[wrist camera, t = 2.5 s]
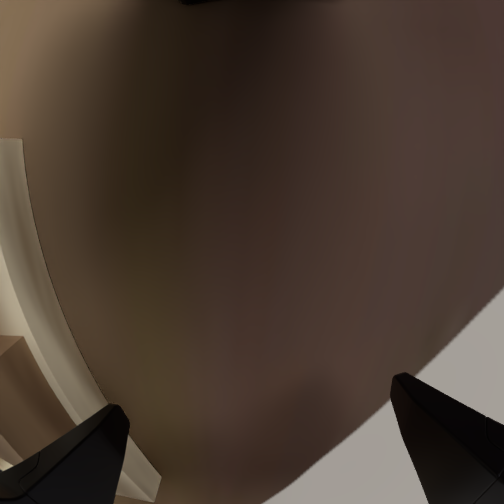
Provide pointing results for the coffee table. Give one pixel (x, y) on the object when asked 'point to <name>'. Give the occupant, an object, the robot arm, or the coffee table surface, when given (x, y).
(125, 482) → the board
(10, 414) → the walnut block
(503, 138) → the coffee table surface
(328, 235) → the coffee table surface
